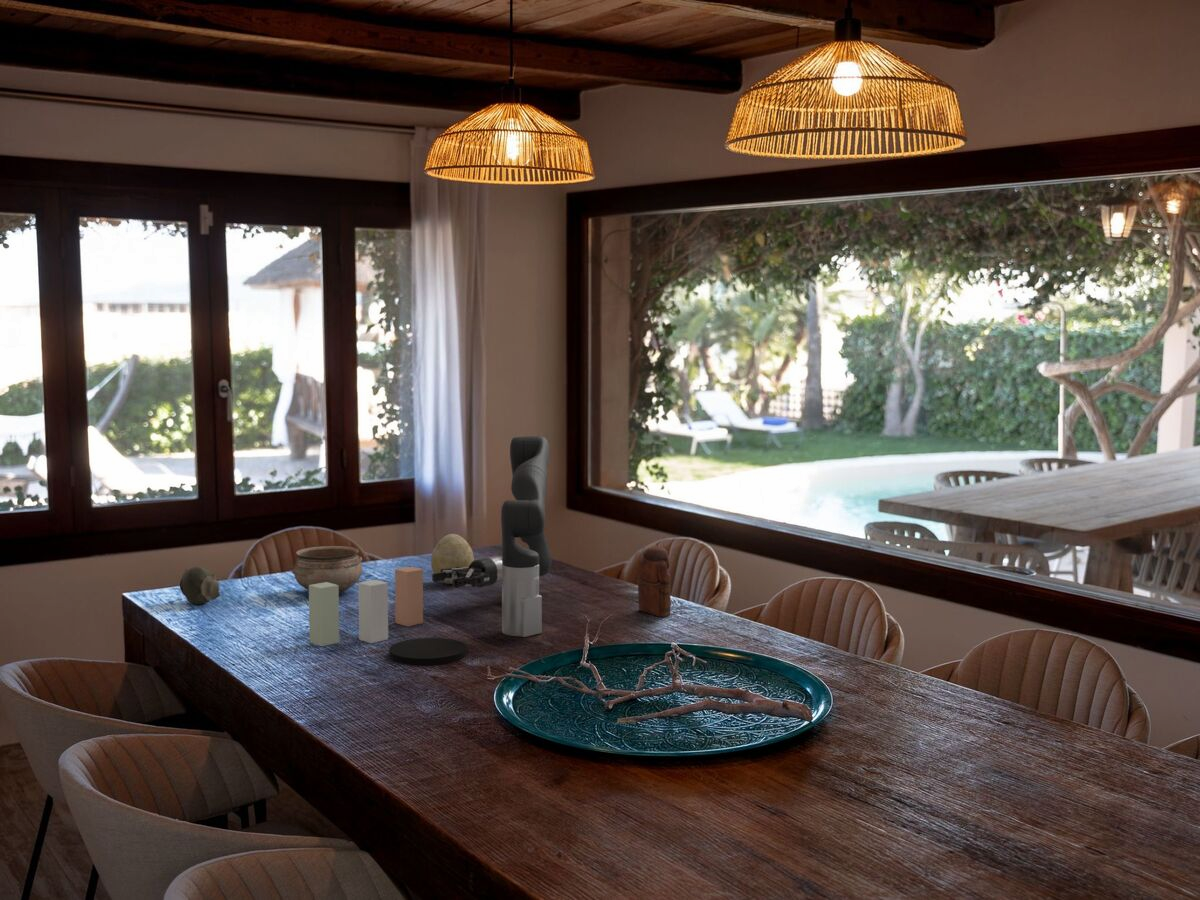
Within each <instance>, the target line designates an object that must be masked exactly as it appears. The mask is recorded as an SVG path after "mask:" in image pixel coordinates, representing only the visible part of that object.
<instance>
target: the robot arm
mask: <svg viewBox="0 0 1200 900" xmlns="http://www.w3.org/2000/svg"><path fill="white" fill-rule="evenodd" d="M550 450H551V448H550V444H549V441H548V439H547V438H545V437H544V436H540V435H533V436H532V435H531V436H529V435H528V436H515V437H513V438H512V439H511V441H510V444H509V458H510V467H511V472H512V473H511V474H512V477H511V485H510V488H511V489H510V490H511V493H512V496H513V497H514V500H513V499H511V500H505V501H504V502H503V503H502V506H501V510H500V523H501V524H500V525H501V526H500V527H501V544H502V545H501V546H502V547H501V548H502V551H501V553H502V555H500V556H490V557H484V558H479V559H474V561H473V562H472V563H471V564H470V566H469V567H462V568H459V567H458V566H456V567H451V568H445V569H440V572H439V573H434V572H433V573H432V577H431V578H432V580H431V581H432V582H434V583H436V582H437V583H438V582H442V581H443V580H452V581H453V584H452V587H453V588H459V587H465V586H466V587H470V586H471V587H473V588H475V587H477V588H485V587H488V586H493V585H494V586H495V585H497V584H501V633H502V634H503V635H506V636H510V637H522V638H525V637H530V636H535V635H537V634H542V631H543V629H542V626H543V625H542V621H543V619H542V618H543V617H542V615H543V599H542V598H543V597H542V595H540V577H543V576H545V575H547V574H548V573H549V571H550V569H551V567H552V555H551V551H550V548H549V545H548V541H547V539H546V536H545V526H546V504H545V501H546V492H547V484H548V483H547V481H548V477H547V474H548V467H549V463H550V454H551V451H550ZM516 538H519V539H520V540H521V541H522V542H523V543H525V544H526V545H527V546H528V547H524V546H523V545H521V544H520V543H518V542H517V541H516ZM454 577H457V578H454Z"/></svg>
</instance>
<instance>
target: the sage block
mask: <svg viewBox="0 0 1200 900" xmlns="http://www.w3.org/2000/svg"><path fill="white" fill-rule="evenodd" d="M339 595H340V594H339V585H336V584H332V583H328V582H324V583H318V584H312V585H309V590H308V610H309V611H308V619H309V620H308V621H309V625H308V627H309V643H311V644H314V645H316V646H320V647H324V646H329V645H334V644H339V643H340V612H339V611H340V604H339V602H340V600H339V597H340V596H339Z"/></svg>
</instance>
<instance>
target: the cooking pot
mask: <svg viewBox="0 0 1200 900" xmlns="http://www.w3.org/2000/svg"><path fill="white" fill-rule="evenodd" d="M359 552H360V550H359V549H358V548H356V547H351V546H345V545H341V546H339V545H327V546H321V545H320V546H314V547H313V546H312V547H307V548H302V549H299V550H297V551H296V552H295V554H296V555H297V559H296V561H295V564H294V568H293V569H292V570H291V573H292V574H293V575H294V578H295V580H296V582H297V583H298V585H299V586H300V587H302V588H303V589H305V590H308V591H309V585H312V584H318V583H324V582H328V583H332V584H336V585H339V595H341V594H342V593H344V592H345V591H346V590H349V589H350V588H351V587H353V586H355V584H357V583H358V582H359V580H360V578H361V577H362V574H363V566H362V561H363V558H362V557H361V556H359V555H358V554H359Z"/></svg>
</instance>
